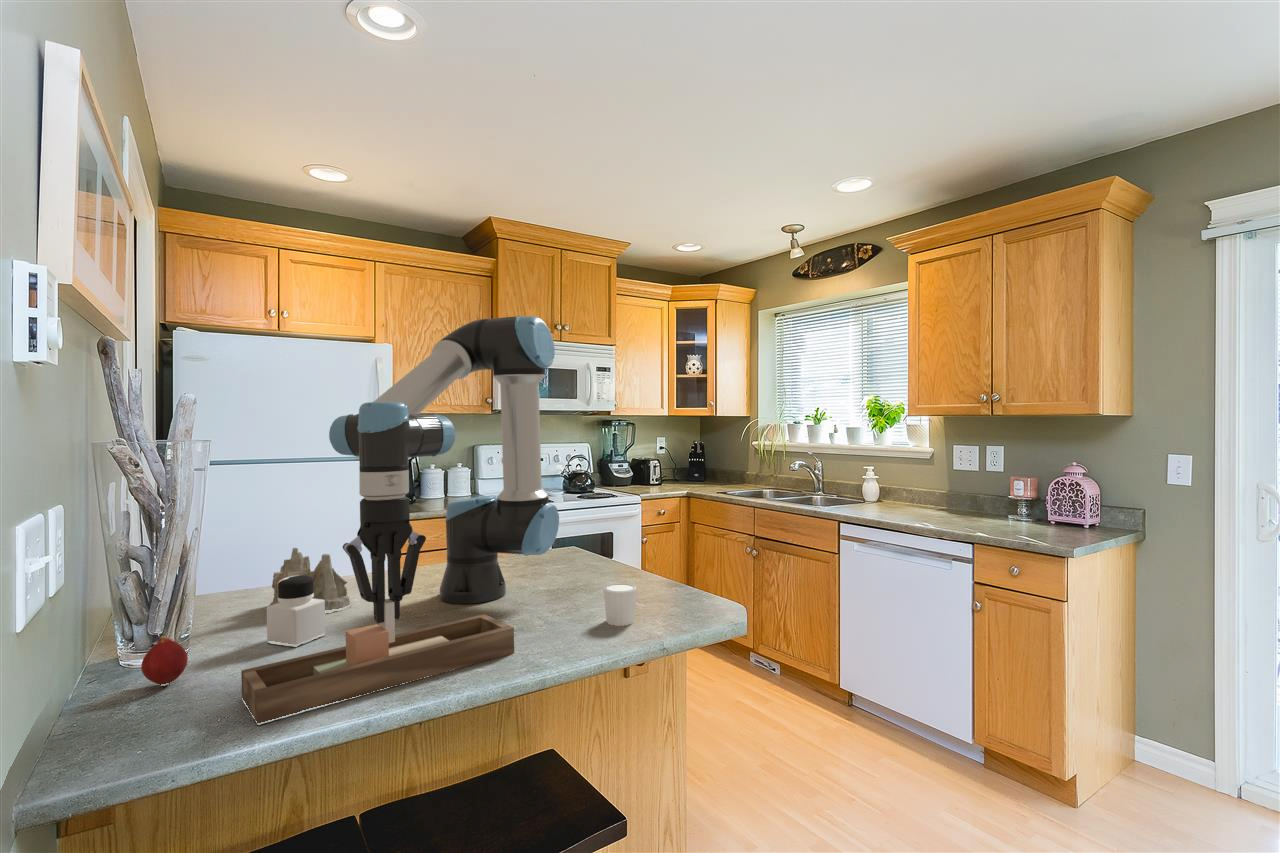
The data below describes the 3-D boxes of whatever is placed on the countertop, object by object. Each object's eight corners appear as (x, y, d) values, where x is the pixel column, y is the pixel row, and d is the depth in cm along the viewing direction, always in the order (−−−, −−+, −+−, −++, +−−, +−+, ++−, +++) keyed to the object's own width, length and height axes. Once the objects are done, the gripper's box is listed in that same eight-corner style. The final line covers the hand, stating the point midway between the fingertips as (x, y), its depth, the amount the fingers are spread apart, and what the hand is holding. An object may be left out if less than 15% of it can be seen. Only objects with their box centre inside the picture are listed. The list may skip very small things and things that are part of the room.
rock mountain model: (353, 610, 141) (348, 541, 141) (266, 625, 133) (262, 553, 133) (348, 597, 155) (344, 535, 155) (269, 610, 147) (265, 545, 147)
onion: (158, 679, 105) (157, 630, 104) (195, 677, 105) (194, 629, 105) (133, 694, 99) (132, 642, 99) (173, 692, 99) (171, 641, 99)
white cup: (633, 627, 127) (632, 592, 127) (599, 626, 129) (599, 591, 129) (640, 617, 134) (639, 583, 134) (608, 615, 135) (607, 582, 135)
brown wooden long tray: (241, 700, 96) (241, 670, 96) (484, 637, 123) (484, 613, 123) (257, 726, 88) (256, 693, 88) (514, 652, 114) (513, 627, 114)
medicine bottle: (326, 635, 125) (325, 574, 125) (295, 648, 118) (294, 583, 118) (298, 632, 127) (296, 571, 127) (266, 644, 120) (265, 580, 120)
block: (346, 661, 103) (345, 630, 103) (377, 654, 106) (377, 623, 106) (356, 670, 99) (355, 638, 99) (389, 662, 103) (388, 631, 103)
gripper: (350, 502, 98) (353, 657, 98) (432, 495, 106) (435, 636, 107) (335, 498, 103) (338, 644, 104) (414, 491, 112) (417, 626, 112)
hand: (387, 640), depth 105 cm, fingers closed
